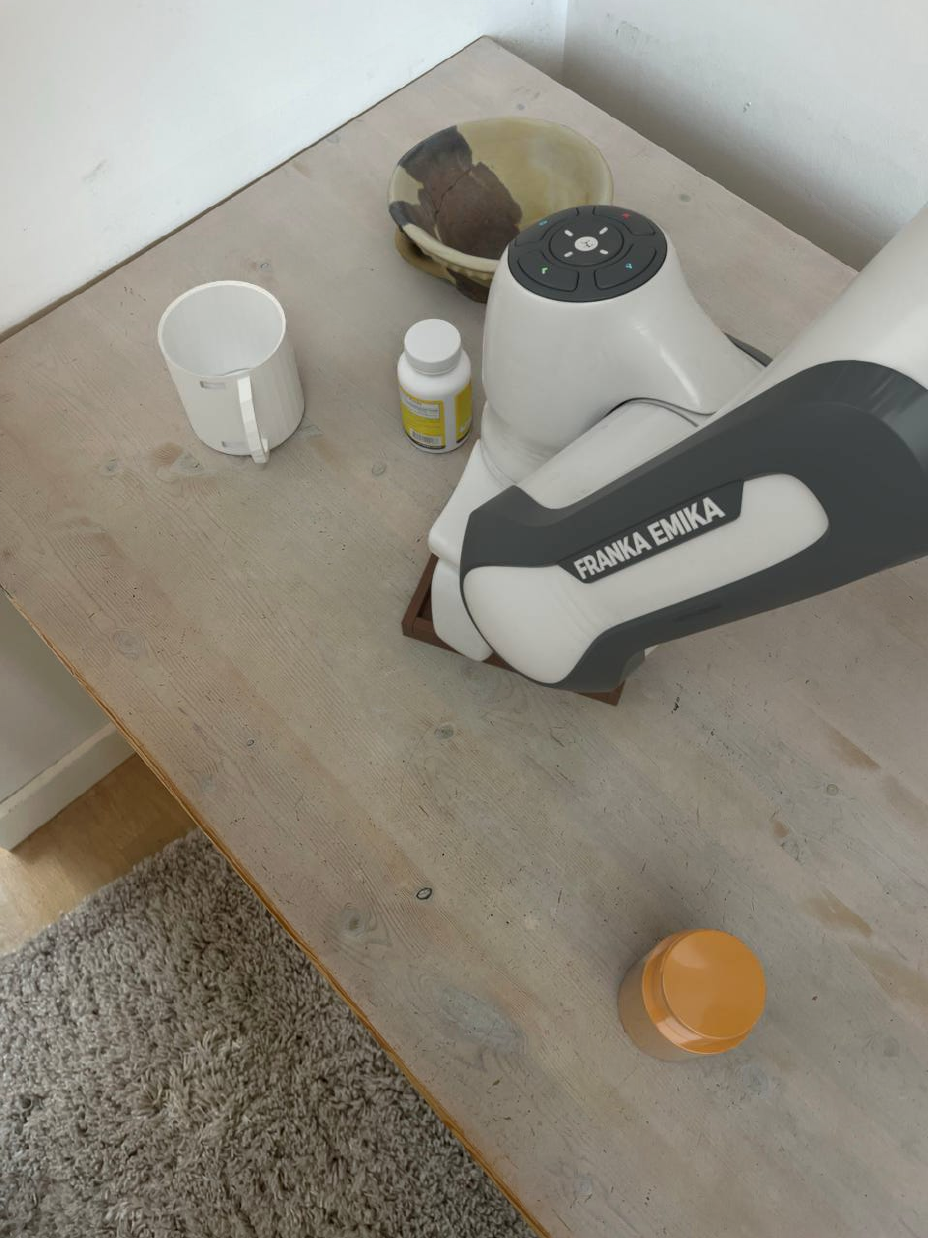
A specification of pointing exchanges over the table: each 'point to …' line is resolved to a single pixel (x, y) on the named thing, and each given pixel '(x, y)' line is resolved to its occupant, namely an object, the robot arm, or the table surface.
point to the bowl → (488, 193)
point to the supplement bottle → (435, 387)
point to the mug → (233, 367)
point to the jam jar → (692, 996)
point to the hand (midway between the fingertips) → (540, 577)
